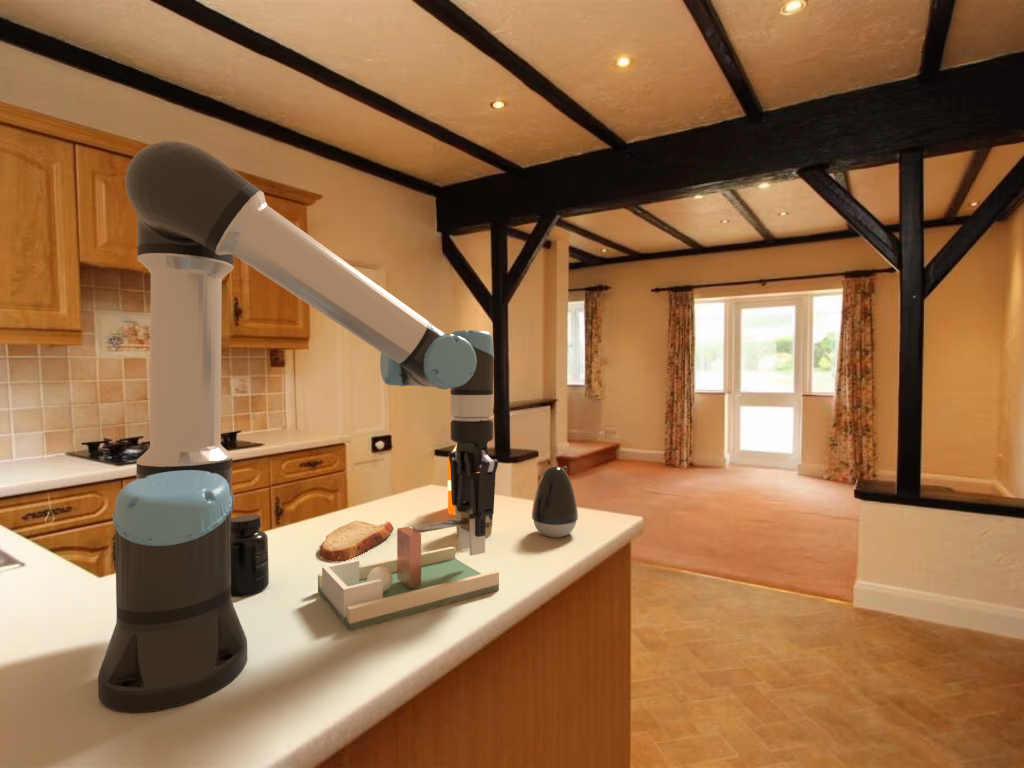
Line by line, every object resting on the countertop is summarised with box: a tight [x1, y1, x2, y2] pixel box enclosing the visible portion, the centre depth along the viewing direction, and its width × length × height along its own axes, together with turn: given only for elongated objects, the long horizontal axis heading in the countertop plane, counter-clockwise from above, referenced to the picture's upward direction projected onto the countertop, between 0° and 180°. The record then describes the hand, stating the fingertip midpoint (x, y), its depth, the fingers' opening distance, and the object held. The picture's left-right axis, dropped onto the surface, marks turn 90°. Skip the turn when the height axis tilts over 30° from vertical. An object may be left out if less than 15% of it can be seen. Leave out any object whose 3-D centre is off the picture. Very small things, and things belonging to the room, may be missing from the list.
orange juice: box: [447, 444, 480, 514], centre depth 142 cm, size 8×9×20 cm
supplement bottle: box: [231, 513, 270, 598], centre depth 90 cm, size 7×7×12 cm
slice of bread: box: [319, 520, 394, 562], centre depth 115 cm, size 18×18×4 cm
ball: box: [367, 567, 393, 592], centre depth 87 cm, size 4×4×4 cm
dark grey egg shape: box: [531, 465, 579, 538], centre depth 121 cm, size 10×10×15 cm
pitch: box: [317, 546, 500, 632], centre depth 90 cm, size 25×16×5 cm, turn 125°
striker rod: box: [396, 509, 472, 589], centre depth 93 cm, size 14×5×10 cm, turn 125°
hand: (471, 550), depth 96 cm, fingers closed on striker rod, 3 cm apart
